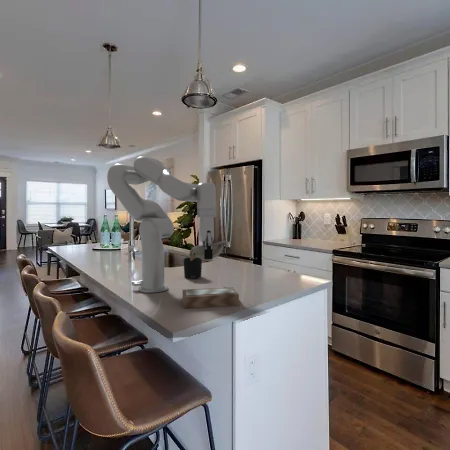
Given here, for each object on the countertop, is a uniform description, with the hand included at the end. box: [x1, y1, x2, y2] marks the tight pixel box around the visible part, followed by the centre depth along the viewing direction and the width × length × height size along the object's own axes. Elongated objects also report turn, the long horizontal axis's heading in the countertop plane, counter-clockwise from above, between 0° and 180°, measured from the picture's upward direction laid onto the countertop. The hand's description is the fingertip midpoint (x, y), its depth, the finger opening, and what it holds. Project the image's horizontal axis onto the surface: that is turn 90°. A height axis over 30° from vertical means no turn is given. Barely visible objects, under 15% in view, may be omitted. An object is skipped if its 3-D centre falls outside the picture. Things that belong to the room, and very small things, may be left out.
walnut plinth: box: [182, 287, 240, 309], centre depth 118 cm, size 20×11×4 cm, turn 100°
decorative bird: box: [189, 240, 228, 261], centre depth 127 cm, size 5×16×8 cm, turn 114°
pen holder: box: [183, 256, 203, 280], centre depth 163 cm, size 9×9×10 cm
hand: (207, 257), depth 127 cm, fingers closed on decorative bird, 5 cm apart
